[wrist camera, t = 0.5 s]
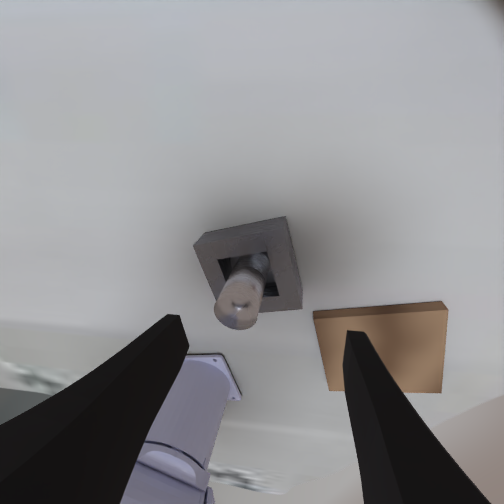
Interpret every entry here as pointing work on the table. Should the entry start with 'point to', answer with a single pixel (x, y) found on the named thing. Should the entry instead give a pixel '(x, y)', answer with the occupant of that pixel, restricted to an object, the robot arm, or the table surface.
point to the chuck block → (249, 242)
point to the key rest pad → (389, 342)
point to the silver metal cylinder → (243, 292)
